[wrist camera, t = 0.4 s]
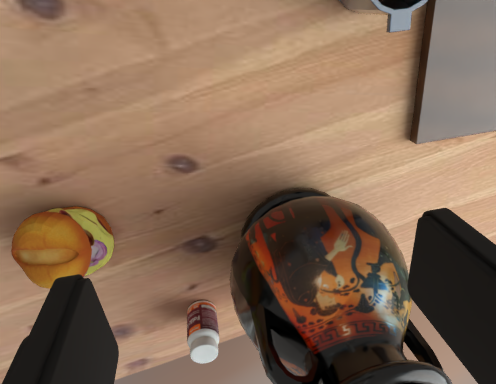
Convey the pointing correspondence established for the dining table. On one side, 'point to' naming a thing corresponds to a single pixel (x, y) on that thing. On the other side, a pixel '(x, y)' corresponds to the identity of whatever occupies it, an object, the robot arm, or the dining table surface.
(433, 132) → the board
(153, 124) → the dining table surface
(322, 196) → the amphora vase
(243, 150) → the dining table surface
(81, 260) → the cheeseburger
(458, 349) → the robot arm
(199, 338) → the pill bottle
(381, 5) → the blue pitcher
